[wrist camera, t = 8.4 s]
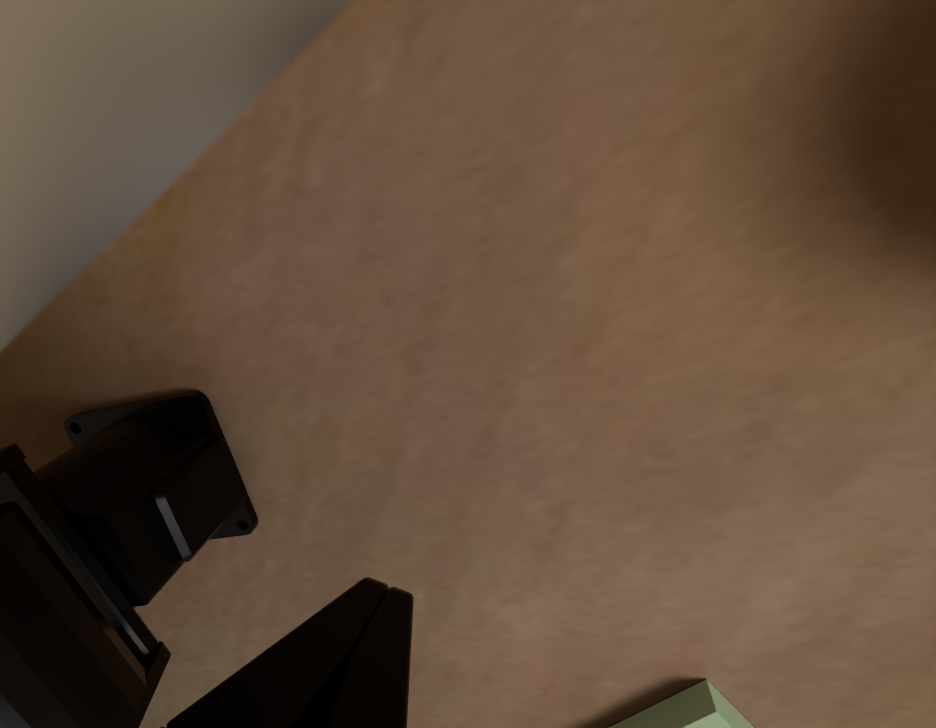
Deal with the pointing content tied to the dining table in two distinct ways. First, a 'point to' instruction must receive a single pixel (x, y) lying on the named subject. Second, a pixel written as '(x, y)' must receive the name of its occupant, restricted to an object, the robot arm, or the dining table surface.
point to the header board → (689, 711)
